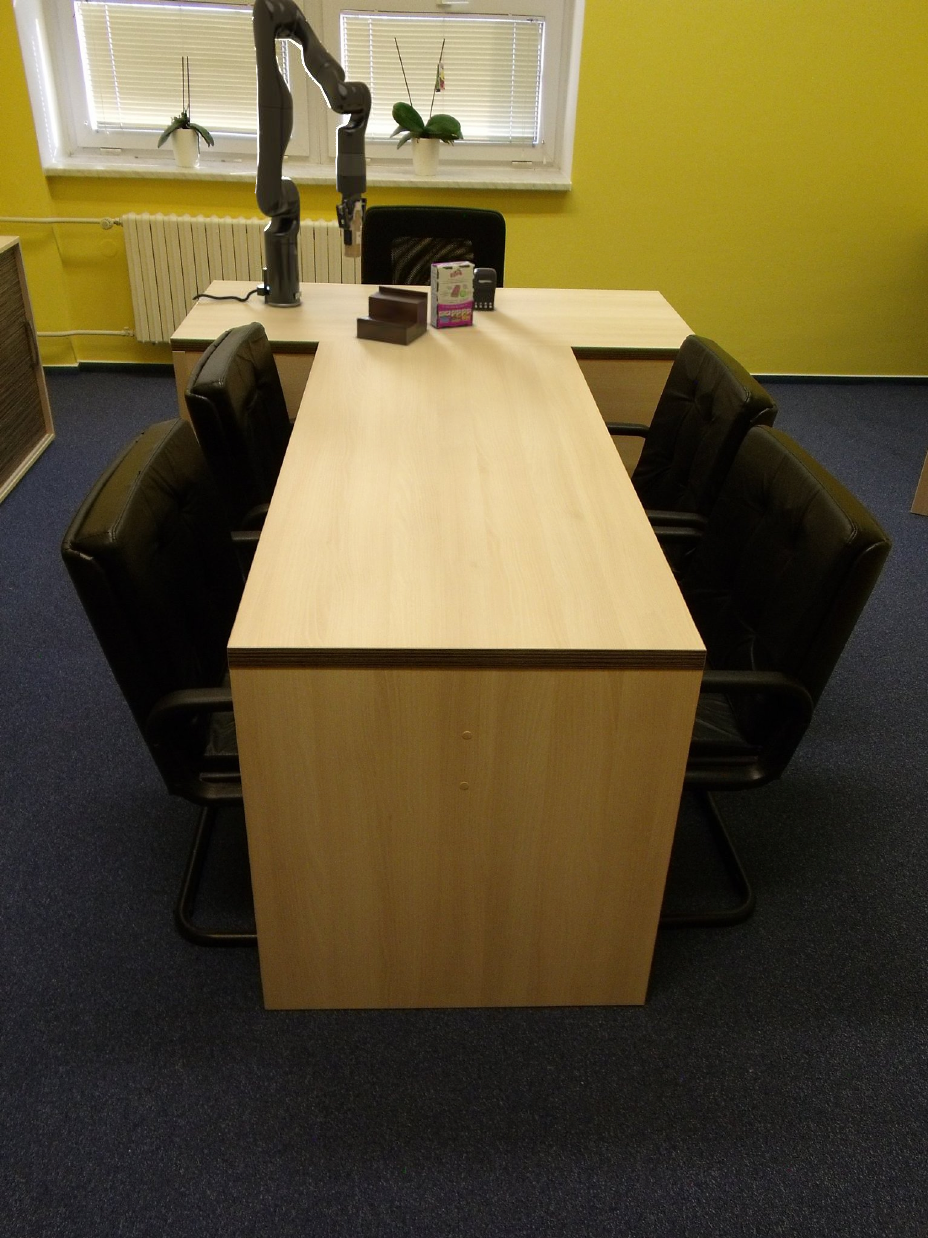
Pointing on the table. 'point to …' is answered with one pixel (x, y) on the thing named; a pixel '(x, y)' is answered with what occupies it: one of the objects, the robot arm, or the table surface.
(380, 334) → the shelf
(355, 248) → the sprinkles bottle
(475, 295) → the black battery charger
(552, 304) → the table surface
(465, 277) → the candy bar box
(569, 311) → the table surface
